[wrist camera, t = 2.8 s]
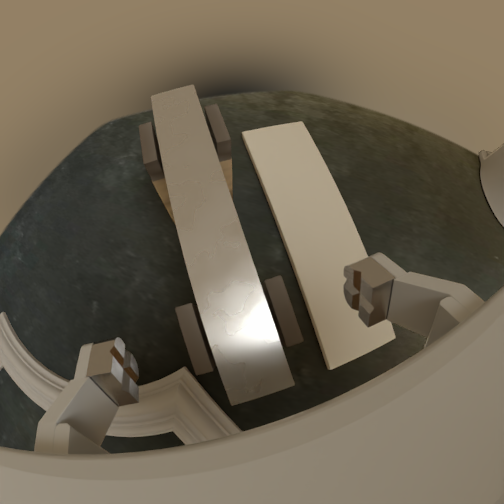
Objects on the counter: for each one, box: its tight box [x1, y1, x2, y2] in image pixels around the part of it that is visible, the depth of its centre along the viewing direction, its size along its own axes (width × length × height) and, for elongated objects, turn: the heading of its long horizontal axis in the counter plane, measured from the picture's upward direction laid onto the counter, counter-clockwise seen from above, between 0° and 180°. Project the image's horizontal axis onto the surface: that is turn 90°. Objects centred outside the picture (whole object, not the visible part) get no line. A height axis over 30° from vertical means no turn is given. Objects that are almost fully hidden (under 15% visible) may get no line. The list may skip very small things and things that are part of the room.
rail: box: [151, 85, 295, 406], centre depth 17 cm, size 4×22×4 cm, turn 18°
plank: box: [242, 121, 396, 370], centre depth 29 cm, size 8×28×1 cm, turn 18°
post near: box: [175, 275, 304, 375], centre depth 20 cm, size 6×4×12 cm, turn 108°
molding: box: [0, 312, 243, 445], centre depth 22 cm, size 42×12×3 cm, turn 84°
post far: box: [139, 104, 233, 224], centre depth 24 cm, size 6×4×12 cm, turn 108°
